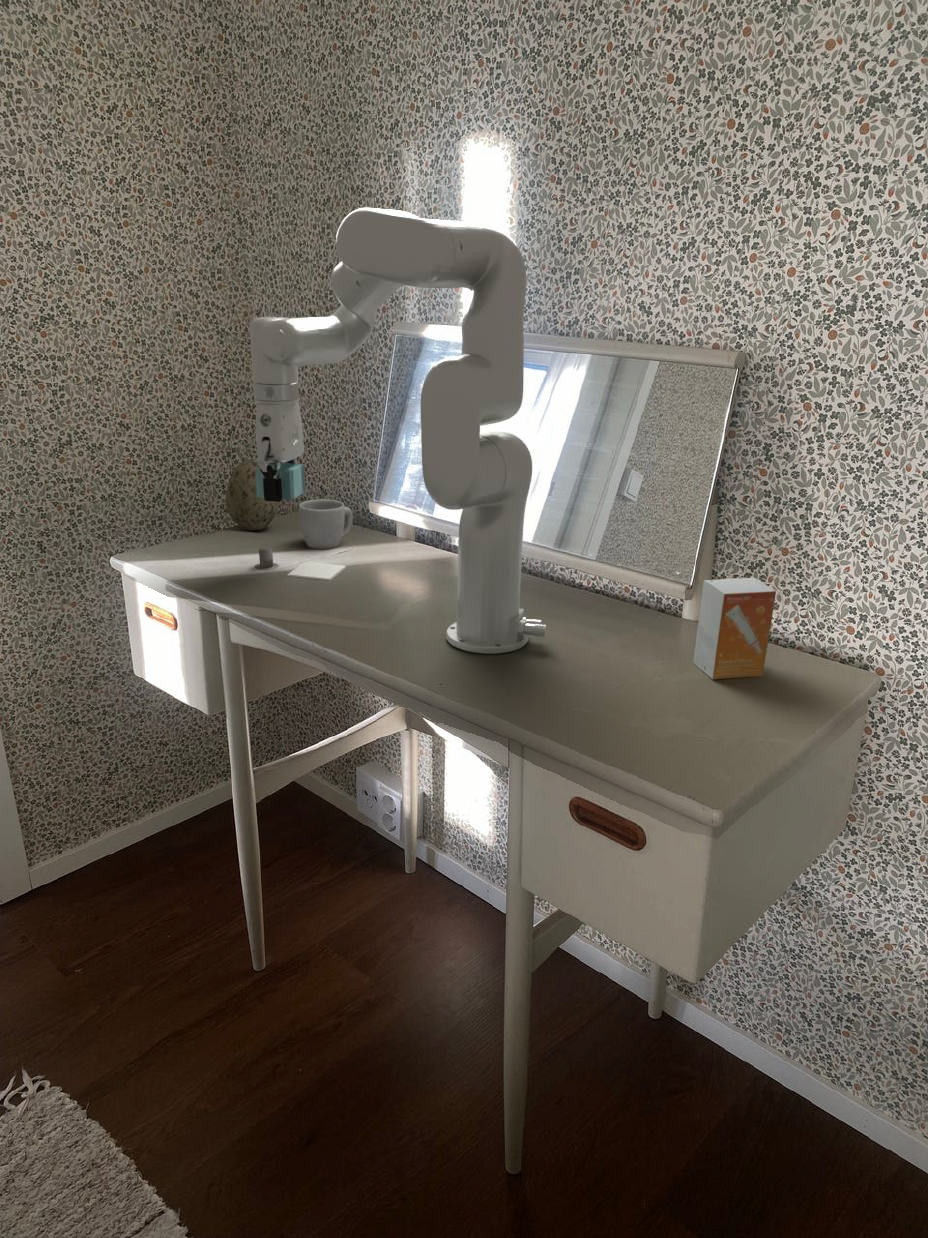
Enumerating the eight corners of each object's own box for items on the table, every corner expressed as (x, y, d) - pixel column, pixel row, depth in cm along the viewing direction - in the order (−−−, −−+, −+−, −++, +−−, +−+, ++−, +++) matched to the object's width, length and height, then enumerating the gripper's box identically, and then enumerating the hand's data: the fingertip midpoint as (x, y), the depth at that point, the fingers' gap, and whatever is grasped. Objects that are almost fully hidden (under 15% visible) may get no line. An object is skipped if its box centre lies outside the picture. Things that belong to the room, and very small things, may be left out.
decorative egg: (219, 534, 195) (214, 463, 189) (239, 521, 205) (235, 454, 199) (268, 538, 193) (264, 466, 188) (286, 525, 203) (283, 456, 198)
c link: (305, 492, 167) (304, 464, 165) (290, 499, 161) (289, 471, 159) (272, 489, 168) (270, 462, 166) (256, 497, 162) (255, 469, 161)
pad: (346, 568, 171) (346, 565, 171) (329, 581, 164) (329, 578, 163) (305, 564, 173) (305, 561, 172) (287, 577, 165) (287, 574, 165)
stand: (355, 572, 173) (354, 548, 171) (330, 592, 162) (330, 566, 160) (256, 562, 177) (255, 538, 176) (226, 581, 167) (224, 555, 165)
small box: (712, 681, 131) (723, 593, 126) (692, 663, 136) (702, 579, 132) (764, 676, 132) (777, 590, 128) (742, 659, 138) (754, 576, 133)
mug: (320, 561, 179) (318, 512, 176) (291, 551, 185) (289, 504, 181) (366, 548, 188) (365, 502, 184) (337, 540, 193) (336, 494, 190)
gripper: (275, 400, 150) (281, 509, 156) (316, 388, 165) (320, 487, 172) (232, 398, 151) (240, 506, 158) (277, 386, 167) (282, 485, 173)
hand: (281, 495), depth 165 cm, fingers closed on c link, 6 cm apart
